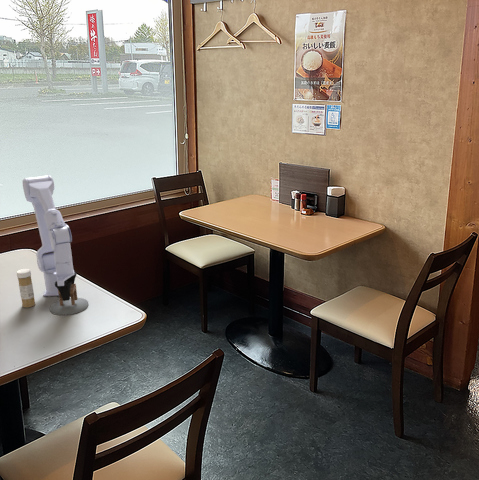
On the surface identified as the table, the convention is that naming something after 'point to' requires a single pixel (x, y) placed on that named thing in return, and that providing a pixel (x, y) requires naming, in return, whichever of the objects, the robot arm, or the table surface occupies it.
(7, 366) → the table surface
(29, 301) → the sprinkles bottle
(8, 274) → the table surface
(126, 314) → the table surface
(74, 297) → the stool
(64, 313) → the mat
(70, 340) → the table surface
